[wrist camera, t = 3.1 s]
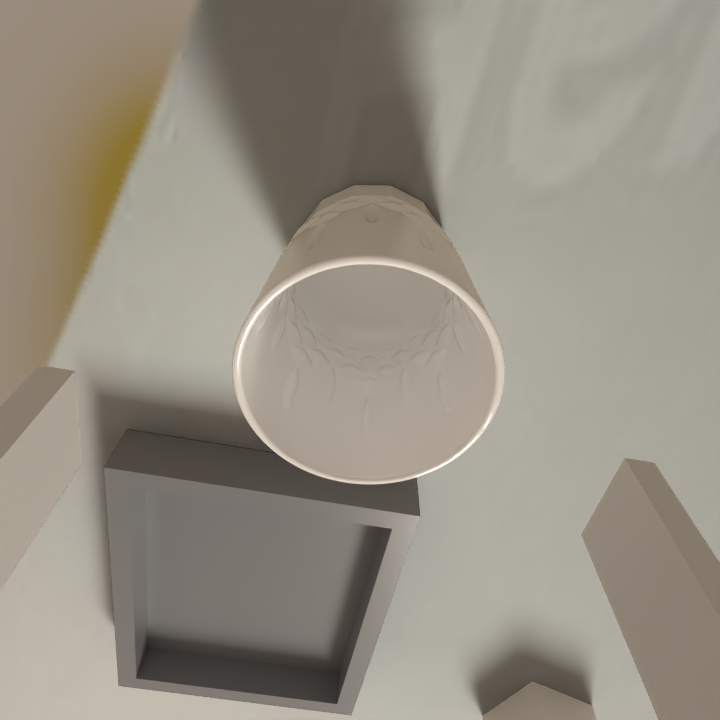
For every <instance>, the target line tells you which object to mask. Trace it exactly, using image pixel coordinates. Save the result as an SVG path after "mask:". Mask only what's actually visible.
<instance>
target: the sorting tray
mask: <svg viewBox="0 0 720 720" xmlns="http://www.w3.org/2000/svg"><path fill="white" fill-rule="evenodd" d="M104 479H105V494H106V508H107V523H108V538H109V552H110V567H111V581H112V596H113V611H114V625H115V640H116V654H117V669H118V684H119V686H123V687H131V688H139V689H147V690H155V691H163V692H171V693H179V694H187V695H195V696H203V697H210V698H218V699H226V700H234V701H242V702H250V703H258V704H266V705H274V706H282V707H289V708H297V709H305V710H313V711H321V712H329V713H337V714H345V715H352V712H353V709H354V706H355V703H356V700H357V697H358V694H359V691H360V689H361V686H362V683H363V680H364V677H365V674H366V671H367V668H368V665H369V663H370V660H371V657H372V654H373V651H374V648H375V645H376V642H377V640H378V637H379V634H380V631H381V628H382V625H383V622H384V619H385V616H386V614H387V611H388V608H389V605H390V602H391V599H392V596H393V593H394V590H395V588H396V585H397V582H398V579H399V576H400V573H401V570H402V567H403V565H404V562H405V559H406V556H407V553H408V550H409V547H410V544H411V541H412V539H413V536H414V533H415V530H416V527H417V524H418V521H419V518H420V509H419V497H418V486H417V477H416V478H413V479H409V480H405V481H400V482H394V483H386V484H354V483H346V482H340V481H335V480H331V479H327V478H323V477H320V476H317V475H314V474H312V473H309V472H307V471H305V470H303V469H301V468H299V467H297V466H295V465H293V464H291V463H290V462H288V461H286V460H285V459H283V458H282V457H281V456H279V455H278V454H277V453H271V452H265V451H258V450H252V449H246V448H240V447H234V446H227V445H221V444H215V443H209V442H202V441H196V440H190V439H184V438H177V437H171V436H165V435H159V434H152V433H146V432H140V431H134V430H126V432H125V434H124V435H123V437H122V438H121V440H120V442H119V443H118V445H117V447H116V448H115V450H114V451H113V453H112V455H111V456H110V458H109V460H108V461H107V463H106V465H105V466H104Z"/></svg>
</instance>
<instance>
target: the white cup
mask: <svg viewBox="0 0 720 720" xmlns="http://www.w3.org/2000/svg"><path fill="white" fill-rule="evenodd" d="M232 375H233V384H234V389H235V394H236V397H237V400H238V403H239V406H240V408H241V410H242V412H243V414H244V416H245V418H246V420H247V421H248V423H249V425H250V426H251V428H252V429H253V430H254V432H255V433H256V434H257V435H258V436H259V438H260V439H261V440H262V441H263V442H264V443H265V444H266V445H267V446H268V447H269V448H270V449H272V450H273V451H274V452H275V453H277V454H278V455H279V456H281V457H282V458H283V459H285V460H286V461H288V462H290V463H291V464H293V465H295V466H297V467H299V468H301V469H303V470H305V471H307V472H309V473H312V474H314V475H317V476H320V477H323V478H327V479H331V480H335V481H340V482H346V483H354V484H386V483H394V482H400V481H405V480H409V479H413V478H416V477H419V476H422V475H425V474H428V473H430V472H432V471H435V470H437V469H439V468H441V467H443V466H444V465H446V464H448V463H450V462H451V461H453V460H454V459H456V458H457V457H458V456H460V455H461V454H462V453H464V452H465V451H466V450H467V449H468V448H469V447H471V446H472V445H473V444H474V443H475V442H476V440H477V439H478V438H479V437H480V436H481V435H482V433H483V432H484V431H485V429H486V428H487V427H488V425H489V423H490V422H491V420H492V418H493V416H494V414H495V412H496V410H497V408H498V405H499V402H500V399H501V396H502V392H503V386H504V378H505V363H504V355H503V350H502V346H501V342H500V339H499V336H498V334H497V331H496V329H495V327H494V325H493V323H492V321H491V319H490V317H489V315H488V313H487V311H486V309H485V307H484V305H483V303H482V301H481V299H480V297H479V295H478V293H477V291H476V288H475V286H474V284H473V282H472V280H471V278H470V276H469V274H468V272H467V270H466V268H465V266H464V264H463V262H462V260H461V258H460V256H459V255H458V253H457V251H456V250H455V248H454V246H453V244H452V242H451V241H450V239H449V237H448V236H447V234H446V233H445V232H444V230H443V229H442V228H441V226H440V225H439V223H438V222H437V221H436V219H435V218H434V216H433V215H432V214H431V212H430V211H429V209H428V208H427V207H426V205H425V204H424V203H423V202H422V201H420V200H418V199H416V198H414V197H412V196H411V195H409V194H407V193H405V192H403V191H401V190H399V189H397V188H395V187H393V186H391V185H353V186H351V187H348V188H346V189H344V190H342V191H340V192H338V193H336V194H334V195H332V196H329V197H327V198H325V199H323V200H321V201H320V203H319V204H318V205H317V207H316V208H315V209H314V210H313V212H312V213H311V214H310V216H309V217H308V218H307V219H306V221H305V222H304V223H303V225H302V226H301V227H300V228H299V229H298V230H297V232H296V233H295V235H294V236H293V238H292V239H291V241H290V242H289V244H288V245H287V247H286V248H285V250H284V252H283V253H282V255H281V256H280V258H279V260H278V262H277V263H276V265H275V267H274V269H273V271H272V272H271V274H270V276H269V278H268V280H267V282H266V284H265V285H264V287H263V289H262V291H261V293H260V295H259V296H258V298H257V300H256V302H255V303H254V305H253V307H252V309H251V311H250V312H249V314H248V316H247V318H246V319H245V321H244V323H243V325H242V327H241V329H240V332H239V334H238V337H237V340H236V344H235V348H234V353H233V362H232Z"/></svg>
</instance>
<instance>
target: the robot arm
mask: <svg viewBox="0 0 720 720" xmlns="http://www.w3.org/2000/svg"><path fill="white" fill-rule="evenodd" d="M82 464H83V456H82V445H81V434H80V423H79V412H78V401H77V390H76V378H75V371H72V370H65V369H59V368H53V367H46V366H39V367H38V368H37V369H36V370H35V371H34V372H33V373H32V374H31V375H30V376H29V377H28V378H27V379H26V380H25V381H24V382H23V383H22V385H20V386H19V387H18V389H17V390H16V391H15V392H14V393H13V394H12V395H11V396H10V397H9V398H8V399H7V400H6V401H5V402H4V403H3V404H2V405H1V406H0V590H1V589H2V587H3V586H4V584H5V583H6V581H7V579H8V578H9V576H10V575H11V573H12V572H13V570H14V569H15V567H16V566H17V564H18V562H19V561H20V559H21V558H22V556H23V555H24V553H25V552H26V550H27V549H28V547H29V545H30V544H31V542H32V541H33V539H34V538H35V536H36V535H37V533H38V532H39V530H40V528H41V527H42V525H43V524H44V522H45V521H46V519H47V518H48V516H49V515H50V513H51V511H52V510H53V508H54V507H55V505H56V504H57V502H58V501H59V499H60V498H61V496H62V494H63V493H64V491H65V490H66V488H67V487H68V485H69V484H70V482H71V481H72V479H73V477H74V476H75V474H76V473H77V471H78V470H79V468H80V467H81V465H82ZM581 535H582V538H583V540H584V542H585V545H586V547H587V550H588V552H589V554H590V557H591V559H592V561H593V564H594V566H595V569H596V571H597V573H598V576H599V578H600V581H601V583H602V585H603V588H604V590H605V593H606V595H607V597H608V600H609V602H610V604H611V607H612V609H613V612H614V614H615V616H616V619H617V621H618V624H619V626H620V628H621V631H622V633H623V636H624V638H625V640H626V643H627V645H628V647H629V650H630V652H631V655H632V657H633V659H634V662H635V664H636V667H637V669H638V671H639V674H640V676H641V679H642V681H643V683H644V686H645V688H646V690H647V693H648V695H649V698H650V700H651V702H652V705H653V707H654V710H655V712H656V714H657V717H658V719H659V720H720V563H719V561H718V560H717V558H716V557H715V555H714V554H713V552H712V551H711V549H710V547H709V546H708V544H707V543H706V541H705V540H704V538H703V537H702V535H701V534H700V532H699V531H698V529H697V528H696V526H695V525H694V523H693V521H692V520H691V518H690V517H689V515H688V514H687V512H686V511H685V509H684V508H683V506H682V505H681V503H680V502H679V500H678V498H677V497H676V495H675V494H674V492H673V491H672V489H671V488H670V486H669V485H668V483H667V482H666V480H665V479H664V477H663V476H662V474H661V472H660V471H659V469H658V468H657V466H656V465H655V463H652V462H646V461H640V460H634V459H627V458H625V459H624V461H623V462H622V464H621V466H620V468H619V469H618V471H617V473H616V475H615V476H614V478H613V480H612V482H611V483H610V485H609V487H608V489H607V490H606V492H605V494H604V496H603V498H602V499H601V501H600V503H599V505H598V506H597V508H596V510H595V512H594V513H593V515H592V517H591V519H590V520H589V522H588V524H587V526H586V527H585V529H584V531H583V533H582V534H581Z"/></svg>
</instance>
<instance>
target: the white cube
mask: <svg viewBox="0 0 720 720" xmlns="http://www.w3.org/2000/svg"><path fill="white" fill-rule="evenodd" d="M483 720H597V719H596V716H595V713H594V710H593V707H592V705H590V704H587V703H585V702H582V701H580V700H577V699H575V698H572V697H570V696H567V695H565V694H563V693H560V692H558V691H555V690H553V689H550V688H548V687H545V686H543V685H540V684H538V683H535V682H533V681H532V682H530V683H529V684H528V685H526V686H525V687H523V688H522V689H520V690H519V691H518V692H516V693H515V694H513V695H512V696H510V697H509V698H508V699H506V700H505V701H503V702H502V703H500V704H499V705H497V706H496V707H495V708H493V709H492V710H490V711H489V712H487V713H486V714H485V715H483Z"/></svg>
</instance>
